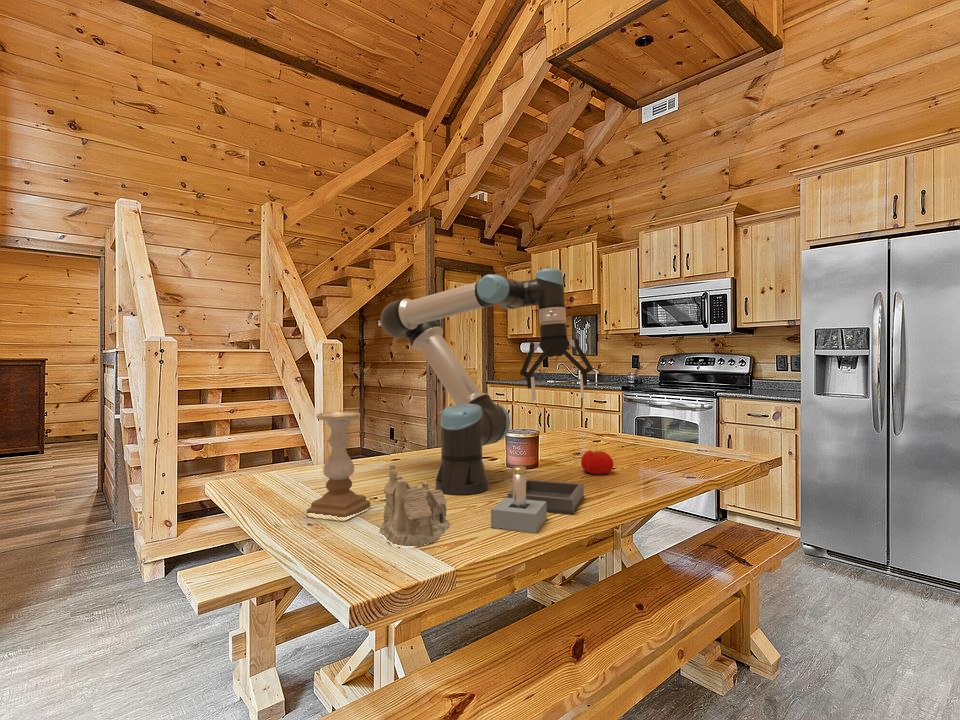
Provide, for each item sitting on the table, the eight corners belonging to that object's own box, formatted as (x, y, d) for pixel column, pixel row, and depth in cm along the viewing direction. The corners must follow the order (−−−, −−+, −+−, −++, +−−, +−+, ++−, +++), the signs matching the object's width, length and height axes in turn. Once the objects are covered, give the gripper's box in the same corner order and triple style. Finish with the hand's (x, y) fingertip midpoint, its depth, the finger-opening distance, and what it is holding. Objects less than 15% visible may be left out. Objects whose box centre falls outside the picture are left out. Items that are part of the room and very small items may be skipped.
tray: (507, 508, 125) (507, 493, 125) (525, 491, 140) (525, 479, 140) (572, 514, 119) (572, 499, 119) (583, 497, 134) (583, 483, 134)
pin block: (490, 527, 110) (490, 509, 110) (505, 514, 120) (505, 497, 120) (535, 533, 107) (535, 514, 107) (546, 518, 116) (546, 501, 116)
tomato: (606, 468, 169) (606, 449, 168) (616, 476, 158) (616, 455, 158) (577, 469, 168) (577, 449, 168) (585, 477, 157) (585, 455, 157)
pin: (511, 524, 112) (510, 468, 112) (515, 520, 115) (514, 465, 115) (524, 526, 111) (523, 469, 111) (527, 522, 114) (527, 466, 114)
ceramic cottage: (390, 551, 97) (394, 472, 98) (372, 528, 112) (375, 460, 113) (466, 544, 103) (468, 469, 104) (439, 523, 118) (442, 458, 119)
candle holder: (371, 508, 125) (370, 412, 125) (345, 522, 115) (344, 417, 115) (333, 504, 129) (332, 410, 129) (305, 517, 119) (304, 415, 118)
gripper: (507, 326, 143) (512, 401, 142) (598, 318, 137) (603, 397, 137) (511, 328, 150) (516, 400, 149) (597, 321, 145) (603, 395, 144)
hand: (558, 398), depth 143 cm, fingers open, 13 cm apart
